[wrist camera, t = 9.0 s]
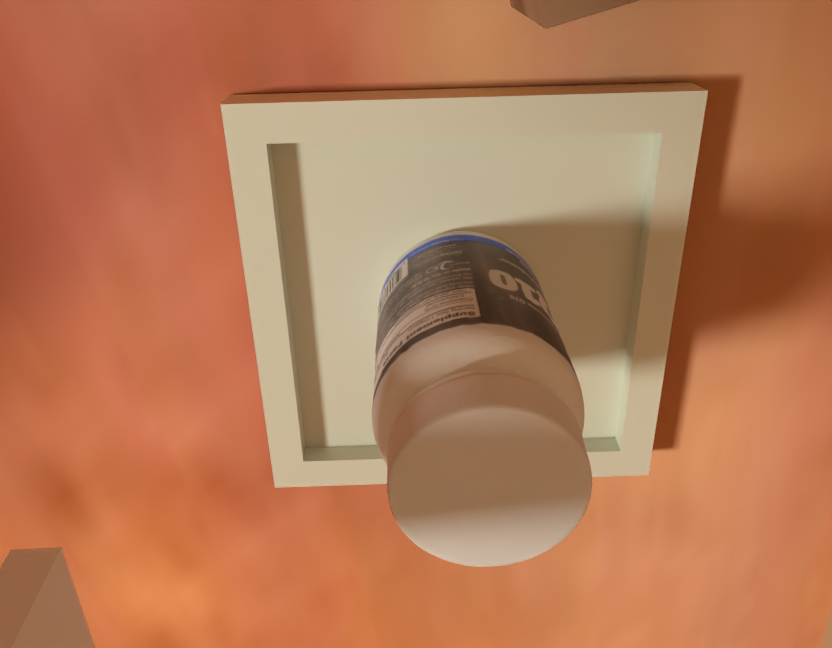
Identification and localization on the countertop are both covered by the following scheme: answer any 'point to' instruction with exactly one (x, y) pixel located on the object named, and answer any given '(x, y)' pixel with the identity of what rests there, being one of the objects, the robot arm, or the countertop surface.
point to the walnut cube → (563, 9)
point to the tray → (459, 211)
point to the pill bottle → (476, 405)
